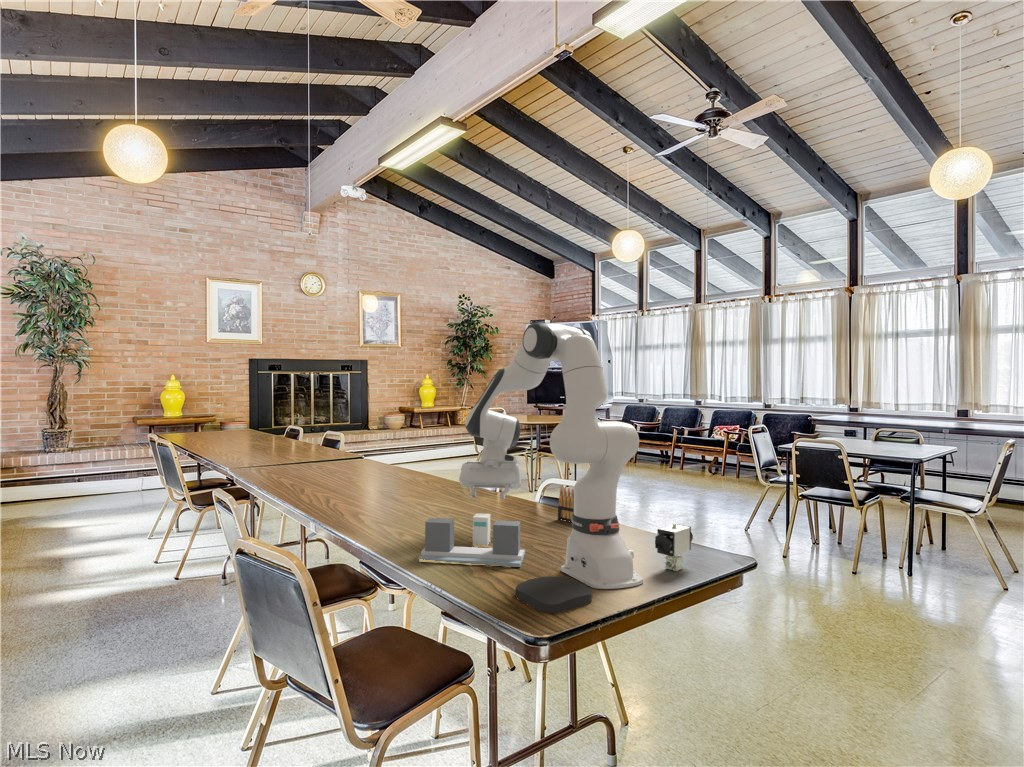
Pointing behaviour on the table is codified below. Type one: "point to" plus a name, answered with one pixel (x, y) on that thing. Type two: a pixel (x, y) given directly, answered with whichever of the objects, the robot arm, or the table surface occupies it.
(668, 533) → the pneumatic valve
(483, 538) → the block
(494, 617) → the table surface
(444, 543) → the twin block stand
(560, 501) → the ammunition clip
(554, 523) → the table surface
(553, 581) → the media streaming box
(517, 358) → the robot arm
